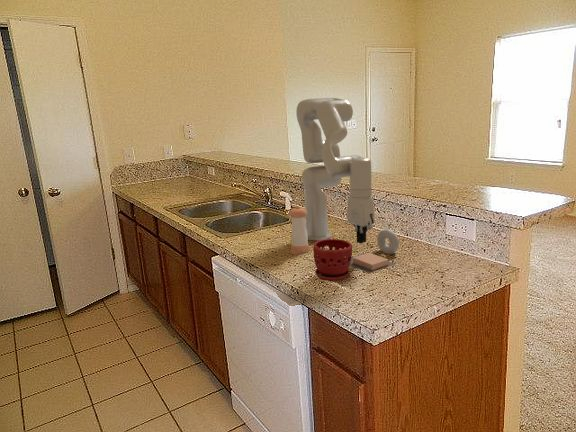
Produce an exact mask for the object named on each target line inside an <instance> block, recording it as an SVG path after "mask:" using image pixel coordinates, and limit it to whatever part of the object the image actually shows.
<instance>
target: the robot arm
mask: <svg viewBox="0 0 576 432" xmlns="http://www.w3.org/2000/svg"><path fill="white" fill-rule="evenodd" d="M353 111H354V110H353V106H352V105H351V102H349V100H347V99H341V98H338V97H337V98H336V97H323V98H318V97H317V98H308V99H303V100H301V101H300V102H298V103H297V106H296V111H295V114H296V119H297V122H298V126H299V128H300V132H301V133H300V134H301V143H302V153H303V155H302V156H303V159H304V162H305V163H307V164H320V163H321V164H322V163H323V164H324V165H317V166H316V165H315V166H310V167H307V168H305V169H304V170H302V173H301V180H302V181H301V182H302V185H303V190H304V202H305V209H306V211H307V215H306V216H305V222H306V230H307V235H308V241H320V240H325V239H331V237H332V236H333V235H332V233H331V232H330V231H329V226H328V225H329V223H328V222H329V221H328V201H327V199H328V198H327V196H326V194H325V193H324V192H323V190H322V189H324V188H331V187H336V186H338V185H340V184H341V181H342V178H347V177H349V196H348V200H347V206H346V207H347V209H346V214H347V215H346V220H347V222H348V223H349V224H351V225H352V226H353V227H354V230H355V232H356V243H358V244H363V243H366V242H367V232H368V231H369V230H373V229H374V225H373V224H375V205H374V199H373V197H372V194H373V192H372V191H373V190H372V160H371V159H370V158H367V157H362V156H360V155H357V154H356V155H354V154H353V155H344V156H341V150H340V147H339V146H340V145H339V143H341V142H342V141H344V139H345V138H346V137H347V136H348V129H347V127H346V124H345V122H349V121H350V120H351V119H352V118H353V114H354V112H353ZM315 120H316V121H317V120H318V122H319V124H320V125H319V124H318V123H317V122H316V121H315ZM322 132H323V134H324V137H325V139H323V135H322Z"/></svg>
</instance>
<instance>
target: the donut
mask: <svg viewBox="0 0 576 432" xmlns="http://www.w3.org/2000/svg"><path fill="white" fill-rule="evenodd" d="M386 239H388V242H389V244H388V243H387V241H386ZM376 243H377V246H378V248H379V250H380V251H381V252H382V253H384V254H387V255H393V254H395V253H397V251H398V249H399V246H400V242H399V238H398V236H397V234H396V233H395V232H394V231H393V230H391V229H389V228H386V229H385V228H384V229H381V230H380V231H379V232H378V234H377V237H376Z"/></svg>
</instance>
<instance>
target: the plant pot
mask: <svg viewBox="0 0 576 432" xmlns="http://www.w3.org/2000/svg"><path fill="white" fill-rule="evenodd" d="M325 247H328V249H326V248H325ZM312 248H313V260H314V264H315V266H316V267H315V268H316V269H315V271H314V272H315V273H314V274H315V275H316V277H317V278H318V279H320V280H321V281H325V282H336V281H341V280H344V279H346V278H348V277H349V275H350V270H349V268H350V267H351V266H350V263H351V258H352V257H353V244H352V243H351V242H349V241H348V240H344V239H336V238H335V239H334V238H329V239H325V240H316V241H315V242H314V243H313V247H312Z"/></svg>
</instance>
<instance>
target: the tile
mask: <svg viewBox="0 0 576 432" xmlns="http://www.w3.org/2000/svg"><path fill="white" fill-rule="evenodd" d="M362 254H363V255H360V254H359V255H360V256H357V255H355V256H356V257H354V256H352V257H353V263H355V264H357V265H360V266H363V267H365V268H368V269H370V270H375V269H378V268H381V267H384V266H387V265H389V262H390V261H389V260H390V259H388V258H385V257H383V256H380V255H376V254H375V253H370V252H367V253H366V252H365V254H364V253H362Z"/></svg>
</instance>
